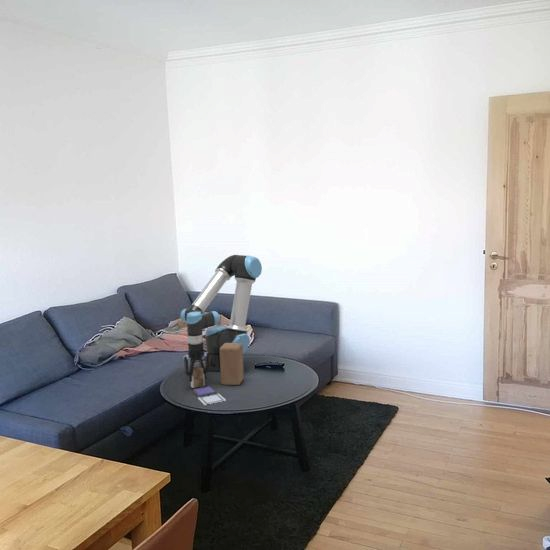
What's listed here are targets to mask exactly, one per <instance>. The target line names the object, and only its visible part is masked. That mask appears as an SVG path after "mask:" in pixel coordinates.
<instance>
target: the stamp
mask: <svg viewBox="0 0 550 550" xmlns="http://www.w3.org/2000/svg"><path fill="white" fill-rule="evenodd" d="M192 375H193V377H194V388H193V390H195V389H200V388H205V386H204V381H205V379H204V374H203V368H202V367H201V366H200V365H197V366H194V367H193V372H192Z"/></svg>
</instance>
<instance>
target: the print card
mask: <svg viewBox="0 0 550 550" xmlns="http://www.w3.org/2000/svg"><path fill="white" fill-rule="evenodd" d="M197 399H198V401H199V402H200V403H201V404H202V405H203V406H208V405H207V404H210V405H214V404H218V402H219V403H224V402H227V399H226V398H225V397H223V396H222V395H221V394H220V393H216V394H214V395H209V396H204V397H197ZM223 401H224V402H223ZM213 403H214V404H213Z"/></svg>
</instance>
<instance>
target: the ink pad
mask: <svg viewBox="0 0 550 550" xmlns="http://www.w3.org/2000/svg"><path fill="white" fill-rule="evenodd" d="M192 393H194V394H195V395H196V396H197V398H199V397H203V396H208V395H214V394H217V392H216V390H215V389H214V388H212V387H211V386H206V387H205V386H204V387H203V388H198V389H192Z"/></svg>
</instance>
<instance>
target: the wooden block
mask: <svg viewBox="0 0 550 550" xmlns="http://www.w3.org/2000/svg"><path fill="white" fill-rule="evenodd" d="M243 354H244V353H243V349H242V344H241V343H224V344H223V345H222V346H221V347H220V370H221V371H220V384H221V385H223V386H225V385H227V386H240V384H241V383H242V382H243V380H244V377H245V376H244V355H243Z"/></svg>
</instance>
